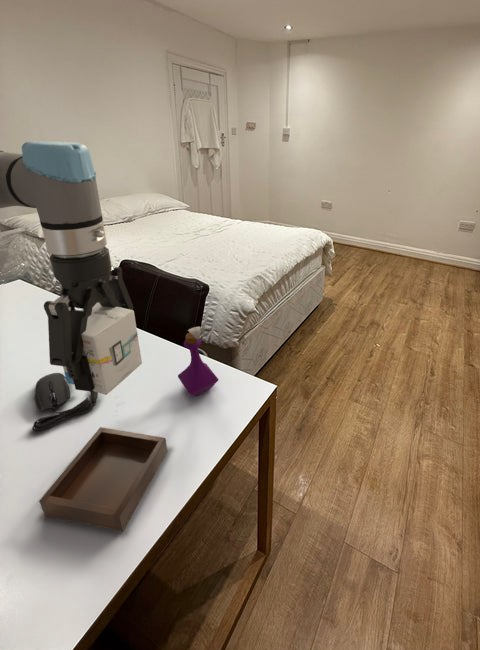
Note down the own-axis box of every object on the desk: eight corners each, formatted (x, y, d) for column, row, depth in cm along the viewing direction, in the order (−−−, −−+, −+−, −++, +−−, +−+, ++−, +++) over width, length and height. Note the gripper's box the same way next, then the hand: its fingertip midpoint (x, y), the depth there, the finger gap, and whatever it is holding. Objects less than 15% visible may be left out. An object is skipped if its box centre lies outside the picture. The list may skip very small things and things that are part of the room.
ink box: (65, 383, 54) (49, 325, 50) (106, 352, 62) (95, 300, 58) (106, 396, 52) (93, 337, 48) (143, 362, 60) (135, 309, 56)
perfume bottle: (178, 385, 81) (171, 325, 74) (206, 373, 85) (202, 315, 79) (190, 404, 75) (183, 341, 69) (219, 390, 80) (216, 329, 73)
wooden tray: (44, 515, 53) (38, 501, 52) (103, 440, 66) (100, 426, 65) (123, 531, 52) (119, 516, 50) (167, 451, 65) (165, 437, 63)
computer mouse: (94, 365, 86) (91, 353, 84) (101, 410, 73) (97, 397, 71) (36, 383, 79) (32, 370, 78) (32, 436, 66) (27, 422, 64)
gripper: (39, 284, 38) (78, 423, 46) (144, 230, 58) (158, 334, 67) (-18, 278, 39) (31, 416, 47) (105, 227, 59) (124, 330, 67)
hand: (105, 368), depth 57 cm, fingers closed on ink box, 9 cm apart
